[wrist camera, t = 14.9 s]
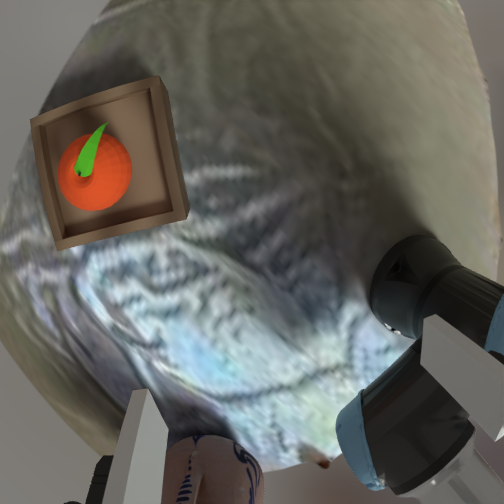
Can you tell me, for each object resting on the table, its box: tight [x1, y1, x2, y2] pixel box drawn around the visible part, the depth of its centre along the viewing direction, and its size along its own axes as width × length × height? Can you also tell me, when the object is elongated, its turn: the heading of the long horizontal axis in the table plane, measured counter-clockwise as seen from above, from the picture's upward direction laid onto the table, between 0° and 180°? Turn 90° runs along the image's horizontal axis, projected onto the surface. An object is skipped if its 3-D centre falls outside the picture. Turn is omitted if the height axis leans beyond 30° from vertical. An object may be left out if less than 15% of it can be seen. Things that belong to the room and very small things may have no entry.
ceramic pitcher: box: [161, 434, 264, 504], centre depth 35 cm, size 18×21×25 cm
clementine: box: [57, 122, 132, 211], centre depth 25 cm, size 8×7×7 cm
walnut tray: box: [30, 75, 190, 251], centre depth 30 cm, size 14×14×8 cm
